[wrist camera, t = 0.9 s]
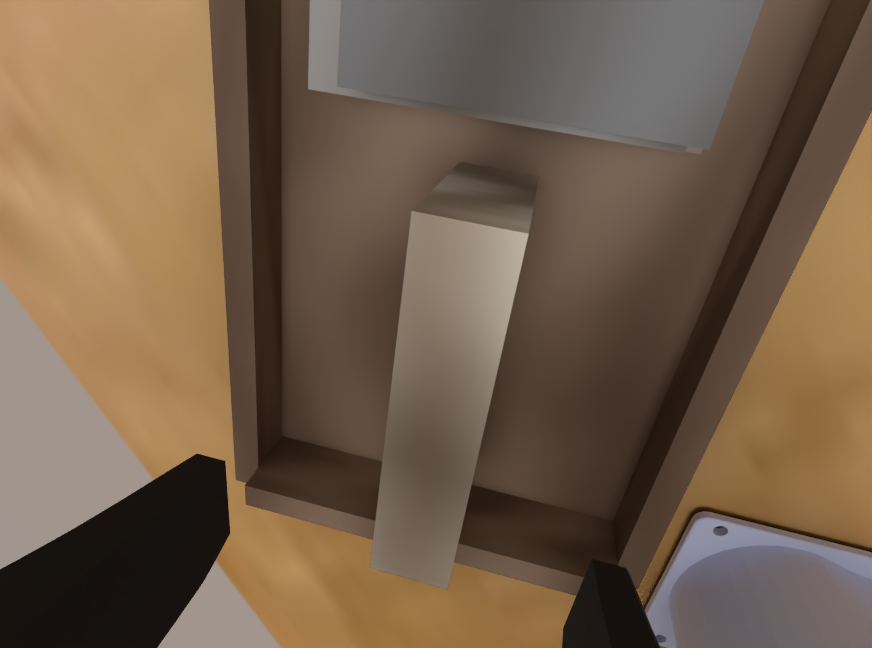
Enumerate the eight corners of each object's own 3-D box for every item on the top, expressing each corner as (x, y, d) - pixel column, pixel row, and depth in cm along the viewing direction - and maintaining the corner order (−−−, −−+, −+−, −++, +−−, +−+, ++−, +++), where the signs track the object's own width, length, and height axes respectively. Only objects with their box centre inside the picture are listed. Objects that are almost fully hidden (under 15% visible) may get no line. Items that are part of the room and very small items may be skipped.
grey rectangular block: (539, 175, 16) (528, 233, 10) (475, 456, 21) (447, 589, 16) (460, 161, 16) (411, 210, 11) (417, 441, 21) (369, 567, 16)
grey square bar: (748, -26, 13) (826, -62, 9) (688, 146, 15) (732, 175, 11) (352, -77, 14) (277, -127, 10) (344, 87, 16) (278, 95, 12)
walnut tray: (929, -160, 12) (1086, -255, 8) (628, 525, 22) (641, 613, 19) (263, -225, 14) (161, -323, 10) (271, 433, 24) (222, 497, 20)
